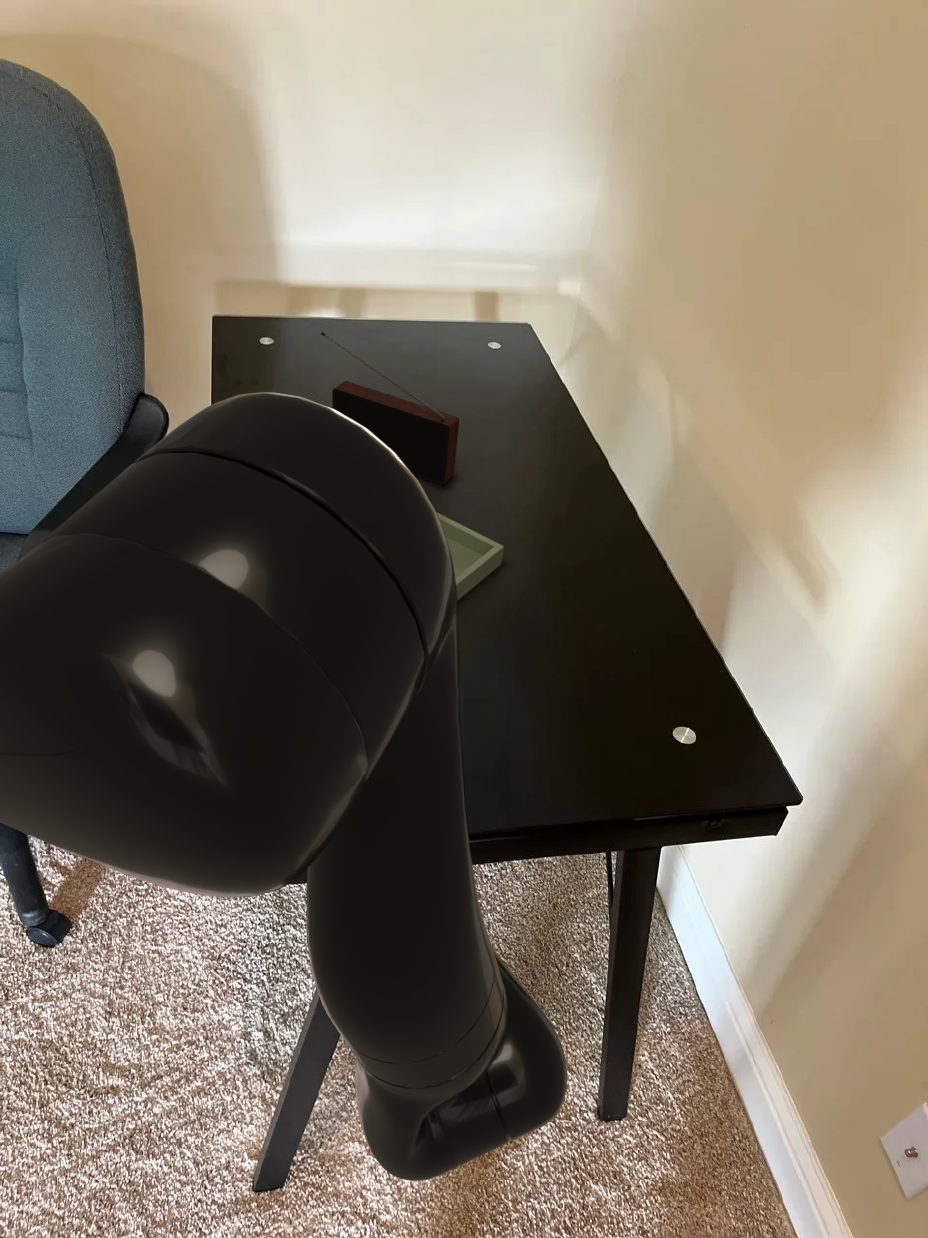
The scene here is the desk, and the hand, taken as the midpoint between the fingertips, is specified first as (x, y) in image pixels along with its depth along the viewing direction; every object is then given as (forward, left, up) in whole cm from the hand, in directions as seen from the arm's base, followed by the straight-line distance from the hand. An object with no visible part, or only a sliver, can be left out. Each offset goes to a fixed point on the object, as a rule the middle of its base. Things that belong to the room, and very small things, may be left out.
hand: (313, 636), depth 64 cm
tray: (+23, +10, -13) cm, 28 cm away
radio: (+41, +26, -13) cm, 50 cm away
